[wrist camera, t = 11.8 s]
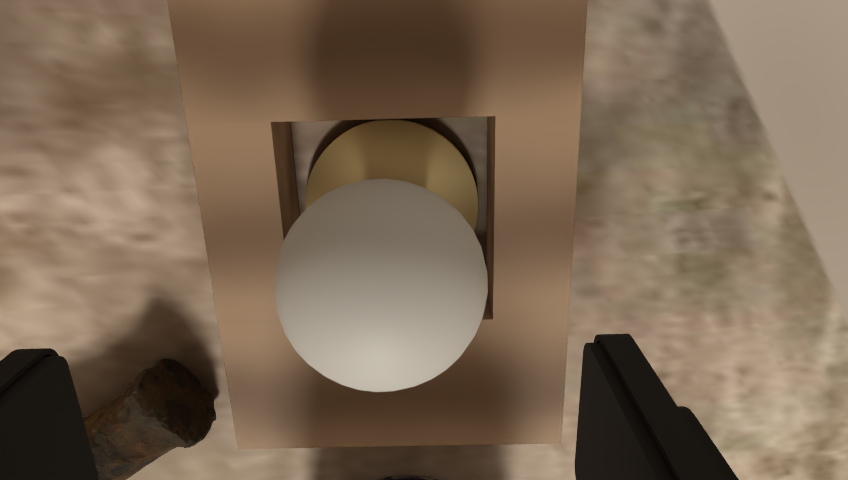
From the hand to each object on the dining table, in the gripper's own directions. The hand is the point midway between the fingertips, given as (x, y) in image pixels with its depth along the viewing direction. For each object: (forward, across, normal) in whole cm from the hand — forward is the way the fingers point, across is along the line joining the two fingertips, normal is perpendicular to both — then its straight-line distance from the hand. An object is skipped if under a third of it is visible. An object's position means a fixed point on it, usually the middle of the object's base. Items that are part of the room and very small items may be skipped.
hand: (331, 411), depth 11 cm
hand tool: (+16, +17, +15) cm, 27 cm away
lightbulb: (+15, 0, +1) cm, 15 cm away
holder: (+15, 0, +1) cm, 15 cm away
